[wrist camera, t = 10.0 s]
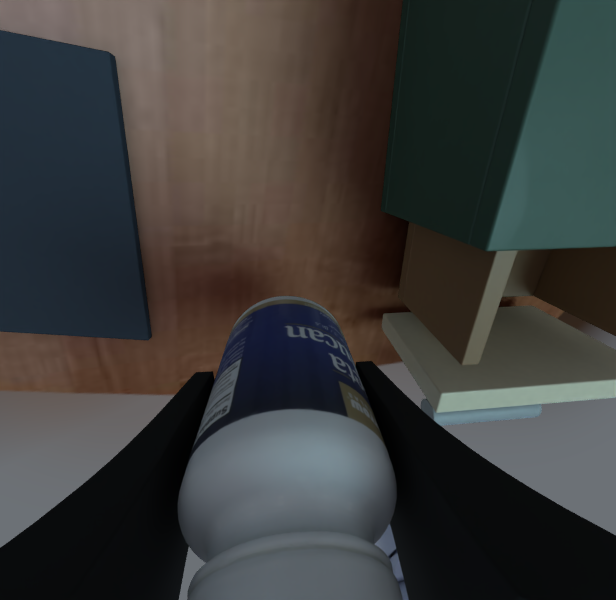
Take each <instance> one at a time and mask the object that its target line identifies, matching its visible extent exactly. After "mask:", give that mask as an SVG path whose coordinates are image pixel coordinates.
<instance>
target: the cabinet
mask: <svg viewBox="0 0 616 600" xmlns="http://www.w3.org/2000/svg"><path fill="white" fill-rule="evenodd" d="M381 211H383V212H385V213H388V214H391V215H393V216H396V217H399V218H401V219H404V220H406V221H409V222H411V223H414V224H417V225H419V226H422V227H424V228H427V229H430V230H432V231H435V232H437V233H440V234H442V235H445V236H448V237H450V238H453V239H455V240H458V241H461V242H463V243H466V244H468V245H471V246H473V247H476V248H478V249H481V250H484V251H513V250H540V249H568V248H595V247H616V0H403V5H402V15H401V24H400V34H399V43H398V53H397V62H396V72H395V81H394V91H393V100H392V110H391V119H390V129H389V138H388V148H387V157H386V167H385V176H384V186H383V195H382V205H381Z"/></svg>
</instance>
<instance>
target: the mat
mask: <svg viewBox="0 0 616 600" xmlns="http://www.w3.org/2000/svg"><path fill="white" fill-rule="evenodd" d="M0 331H1V332H18V333H35V334H51V335H68V336H84V337H101V338H117V339H134V340H149V339H150V338H151V337H152V334H151V327H150V319H149V312H148V304H147V296H146V289H145V281H144V274H143V266H142V258H141V251H140V243H139V236H138V228H137V220H136V213H135V205H134V198H133V190H132V182H131V175H130V167H129V160H128V152H127V144H126V137H125V129H124V122H123V114H122V106H121V99H120V91H119V84H118V76H117V68H116V61H115V56H114V55H112V54H111V53H109V52H106V51H101V50H96V49H91V48H86V47H81V46H76V45H71V44H66V43H61V42H56V41H51V40H46V39H41V38H36V37H31V36H26V35H21V34H16V33H11V32H6V31H1V30H0Z"/></svg>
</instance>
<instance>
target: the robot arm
mask: <svg viewBox="0 0 616 600" xmlns="http://www.w3.org/2000/svg"><path fill="white" fill-rule="evenodd" d="M356 369H357V372H358V374H359V377H360V380H361V382H362V385H363V387H364V389H365V392H366V395H367V397H368V400H369V402H370V405H371V408H372V410H373V413H374V416H375V419H376V422H377V424H378V427H379V430H380V432H381V435H382V437H383V440H384V442H385V445H386V448H387V451H388V454H389V457H390V460H391V463H392V466H393V469H394V473H395V477H396V484H397V500H396V505H395V510H394V514H393V516H392V519H391V521H390V524H389V525H388V527H387V529H386V531H385V532H384V534H383V535H382V536H381V538H380V539H379V540H378V541H377V542H376V543H375V545H376V546H378V547H379V548H380V549H382V550H383V551H384V552H385V553H386V555H387V556H388V557H389V559H390V561H391V563H392V568H393V574H394V575H395V577H396V579H397V581H398V584H399V587H400V590H401V594H402V598H403V600H616V535H614V534H612V533H610V532H608V531H606V530H605V529H603V528H601V527H599V526H597V525H595V524H593V523H592V522H590V521H588V520H586V519H584V518H582V517H580V516H578V515H577V514H575V513H573V512H571V511H569V510H567V509H565V508H563V507H562V506H560V505H559V504H557V503H555V502H553V501H552V500H550V499H548V498H547V497H545V496H543V495H541V494H540V493H538V492H536V491H535V490H533V489H531V488H529V487H528V486H526V485H525V484H523V483H522V482H520V481H518V480H517V479H515V478H514V477H512V476H510V475H509V474H507V473H506V472H504V471H502V470H501V469H500V468H498V467H497V466H495V465H494V464H492V463H490V462H489V461H488V460H486V459H485V458H483V457H482V456H480V455H479V454H477V453H476V452H475V451H473V450H472V449H470V448H469V447H467V446H466V445H465V444H464V443H462V442H461V441H460V440H458V439H457V438H456V437H454V436H453V435H452V434H450V433H449V432H448V431H446V430H445V429H444V428H443V427H441V426H440V425H439V424H438V423H436V422H435V421H434V420H433V419H432V418H431V417H429V416H428V415H427V414H426V413H425V412H424V411H422V410H421V409H420V408H419V407H418V406H417V405H416V404H415V403H414V402H413V401H411V400H410V399H409V398H408V397H407V396H406V395H405V394H404V393H403V392H402V391H401V390H400V389H399V388H398V387H397V386H396V385H395V384H394V383H393V382H392V381H391V380H390V379H389V378H388V377H387V376H386V375H385V374H384V373H383V372H382V371H381V370H380V369H379V368H378V367H377V366H376V365H375V364H374V363H373V362H372V361H365V362H356ZM214 381H215V379H214V375H213V371H211V372H196V373H195V374H194V375H193V376H192V377H191V378H190V379H189V380H188V382H187V383H186V384H185V385H184V386H183V387H182V388H181V389H180V390H179V392H178V393H177V394H176V395H175V396H174V397H173V398H172V399H171V400H170V402H169V403H168V404H167V405H166V406H165V407H164V408H163V409H162V410H161V411H160V412H159V414H157V416H156V417H155V418H154V419H153V420H152V421H151V422H150V423H149V424H148V425H147V426H146V427H145V428H144V429H143V430H142V431H141V432H140V433H139V434H138V435H137V436H136V437H135V438H134V439H133V440H132V441H131V442H130V443H129V444H128V445H127V446H126V447H125V448H124V449H122V450H121V451H120V452H119V453H118V454H117V455H116V456H115V457H114V458H113V459H112V460H111V461H110V462H108V463H107V464H106V465H105V466H104V467H103V468H101V469H100V470H99V471H98V472H97V473H96V474H95V475H93V476H92V477H91V478H90V479H89V480H88V481H86V482H85V483H84V484H83V485H82V486H80V487H79V488H78V489H77V490H75V491H74V492H73V493H72V494H70V495H69V496H68V497H66V498H65V499H64V500H63V501H62V502H60V503H59V504H58V505H57V506H55V507H54V508H53V509H51V510H50V511H49V512H48V513H46V514H45V515H44V516H43V517H41V518H40V519H39V520H37V521H36V522H35V523H33V524H32V525H31V526H29V527H28V528H27V529H25V530H24V531H23V532H21V533H20V534H19V535H17V536H16V537H15V538H13V539H12V540H11V541H9V542H8V543H6V544H5V545H4V546H2V547H1V548H0V600H178V599H179V594H180V589H181V584H182V578H183V572H184V567H185V562H186V557H187V552H188V547H189V545H188V544H187V542H186V540H185V538H184V536H183V534H182V531H181V528H180V525H179V520H178V497H179V491H180V487H181V484H182V480H183V477H184V474H185V471H186V468H187V464H188V460H189V456H190V453H191V451H192V448H193V445H194V443H195V440H196V436H197V433H198V430H199V427H200V424H201V421H202V418H203V415H204V412H205V409H206V406H207V403H208V400H209V397H210V393H211V390H212V387H213V384H214Z"/></svg>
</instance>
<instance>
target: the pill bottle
mask: <svg viewBox="0 0 616 600" xmlns="http://www.w3.org/2000/svg"><path fill="white" fill-rule="evenodd" d="M396 500H397V484H396V477H395V473H394V469H393V466H392V463H391V460H390V457H389V454H388V451H387V448H386V445H385V442H384V440H383V437H382V435H381V432H380V430H379V427H378V424H377V422H376V419H375V416H374V413H373V410H372V408H371V405H370V402H369V400H368V397H367V395H366V392H365V389H364V387H363V385H362V382H361V380H360V377H359V374H358V372H357V369H356V367H355V364H354V362H353V359H352V356H351V354H350V351H349V348H348V346H347V343H346V340H345V338H344V335H343V333H342V331H341V328H340V326H339V324H338V323H337V321H336V320H335V318H334V317H333V316H332V315H331V313H330V312H328V311H327V310H326V309H325V308H324V307H322V306H321V305H319V304H317V303H315V302H313V301H311V300H308V299H305V298H301V297H295V296H278V297H273V298H269V299H266V300H263V301H261V302H258V303H257V304H255V305H253V306H251V307H250V308H249V309H248V310H246V311H245V312H244V313H243V314H242V315H241V316H240V318H239V319H238V320H237V322H236V323H235V325H234V327H233V329H232V331H231V333H230V336H229V339H228V341H227V344H226V347H225V351H224V354H223V357H222V360H221V363H220V366H219V369H218V372H217V375H216V378H215V381H214V384H213V387H212V390H211V393H210V397H209V400H208V403H207V406H206V409H205V412H204V415H203V418H202V421H201V424H200V427H199V430H198V433H197V436H196V440H195V443H194V445H193V448H192V451H191V453H190V456H189V460H188V464H187V468H186V471H185V474H184V477H183V480H182V484H181V487H180V491H179V497H178V520H179V525H180V528H181V531H182V534H183V536H184V538H185V540H186V542H187V544H188V545H189V547H190V548H191V549H192V551H193V552H194V553H195V554H196V555H197V556H198V557H199V558H200V559H202V560H203V561H204V562H206V564H205V565H203V566H202V567H201V568H200V569H199V570H198V571H197V572H196V574H195V575H194V577H193V579H192V581H191V583H190V586H189V589H188V599H187V600H403V598H402V594H401V590H400V587H399V584H398V581H397V579H396V577H395V575H394V574H393V568H392V563H391V561H390V559H389V557H388V556H387V555H386V553H385V552H384V551H383V550H382V549H380V548H379V547H378V546H376V545H375V543H376V542H377V541H378V540H379V539H380V538H381V536H382V535H383V534H384V532H385V531H386V529H387V527H388V525H389V524H390V521H391V519H392V516H393V514H394V510H395V505H396Z"/></svg>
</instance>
